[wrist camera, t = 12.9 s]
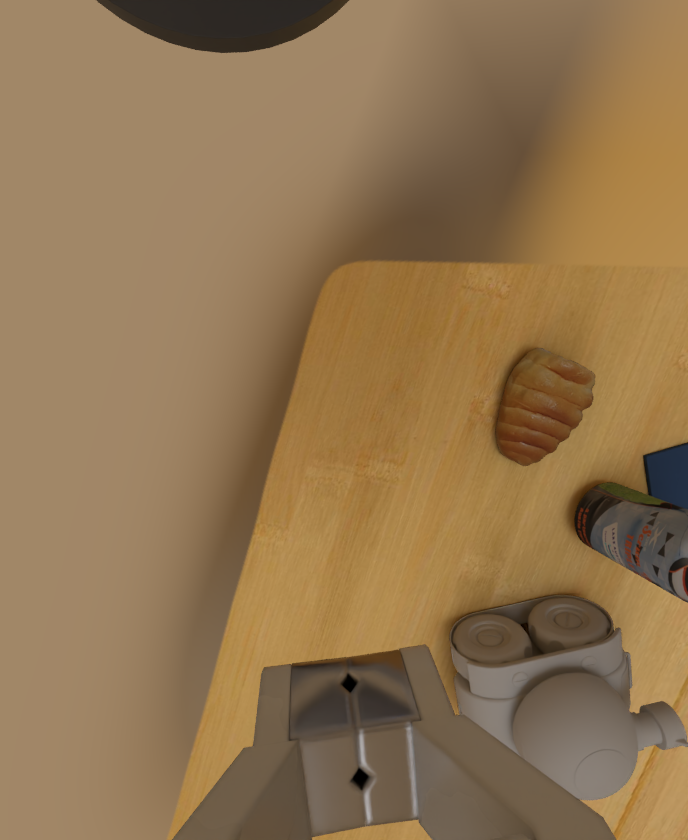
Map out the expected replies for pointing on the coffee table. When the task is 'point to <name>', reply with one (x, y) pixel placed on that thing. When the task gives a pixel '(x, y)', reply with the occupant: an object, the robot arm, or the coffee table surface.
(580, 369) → the pastry
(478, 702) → the toy tank
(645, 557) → the beverage can
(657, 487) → the book
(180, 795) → the coffee table surface
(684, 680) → the coffee table surface
